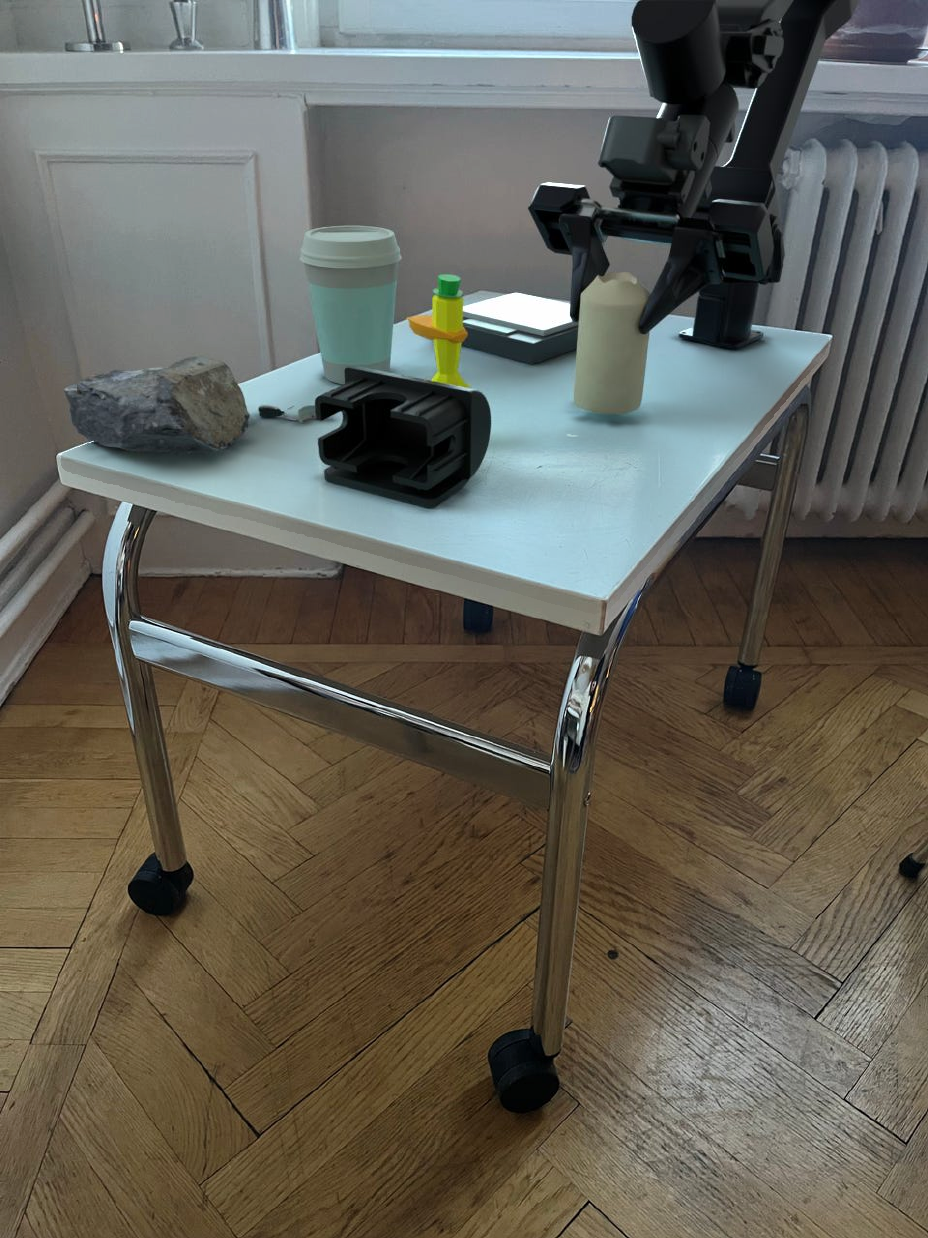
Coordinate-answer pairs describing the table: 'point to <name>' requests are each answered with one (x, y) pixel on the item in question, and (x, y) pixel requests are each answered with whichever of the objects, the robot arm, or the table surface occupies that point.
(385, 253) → the coffee cup
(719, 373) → the table surface
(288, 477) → the table surface
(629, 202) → the robot arm
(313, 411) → the toy
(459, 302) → the toy figure
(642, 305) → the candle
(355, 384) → the end cap
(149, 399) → the rock
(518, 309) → the scale
